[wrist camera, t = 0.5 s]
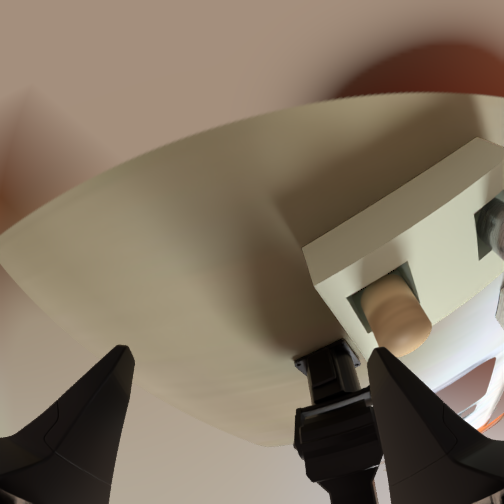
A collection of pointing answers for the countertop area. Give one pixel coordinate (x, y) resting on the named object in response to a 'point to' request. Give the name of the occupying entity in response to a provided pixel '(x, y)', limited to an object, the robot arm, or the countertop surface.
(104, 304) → the countertop surface
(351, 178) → the countertop surface
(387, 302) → the oak peg
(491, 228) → the steel peg
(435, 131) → the countertop surface
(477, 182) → the socket block
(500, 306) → the supplement box
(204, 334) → the countertop surface
